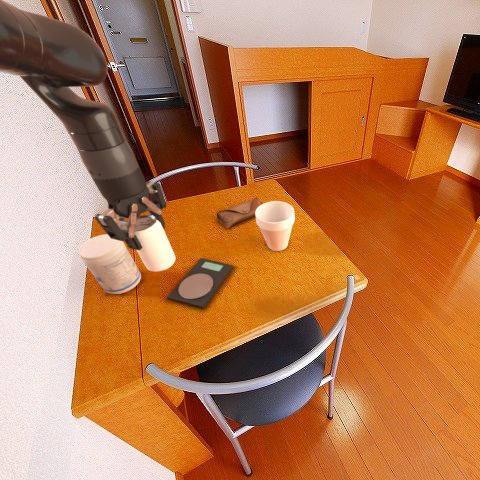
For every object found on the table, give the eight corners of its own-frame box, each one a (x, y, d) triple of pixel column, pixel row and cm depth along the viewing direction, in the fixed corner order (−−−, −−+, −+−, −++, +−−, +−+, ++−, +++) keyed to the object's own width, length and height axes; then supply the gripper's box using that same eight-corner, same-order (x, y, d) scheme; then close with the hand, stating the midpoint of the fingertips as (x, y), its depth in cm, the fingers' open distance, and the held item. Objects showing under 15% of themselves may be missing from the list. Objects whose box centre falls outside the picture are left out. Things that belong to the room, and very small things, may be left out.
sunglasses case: (228, 228, 99) (220, 211, 97) (221, 228, 105) (214, 212, 103) (269, 210, 109) (263, 194, 107) (261, 211, 114) (255, 196, 112)
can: (146, 257, 66) (124, 217, 58) (175, 250, 68) (158, 210, 60) (146, 276, 62) (122, 235, 54) (177, 267, 64) (158, 227, 56)
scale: (203, 309, 74) (201, 305, 73) (168, 299, 76) (166, 296, 75) (233, 267, 85) (232, 264, 84) (201, 260, 87) (200, 256, 86)
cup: (301, 238, 97) (301, 206, 88) (285, 260, 88) (282, 227, 80) (271, 229, 100) (267, 197, 92) (252, 250, 92) (246, 217, 83)
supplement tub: (97, 286, 78) (68, 248, 69) (129, 266, 85) (107, 228, 75) (117, 301, 75) (89, 263, 65) (149, 279, 81) (128, 241, 71)
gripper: (96, 190, 43) (139, 264, 54) (160, 154, 54) (185, 222, 65) (58, 183, 44) (108, 256, 55) (127, 149, 55) (157, 216, 66)
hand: (149, 237), depth 60 cm, fingers closed on can, 6 cm apart
